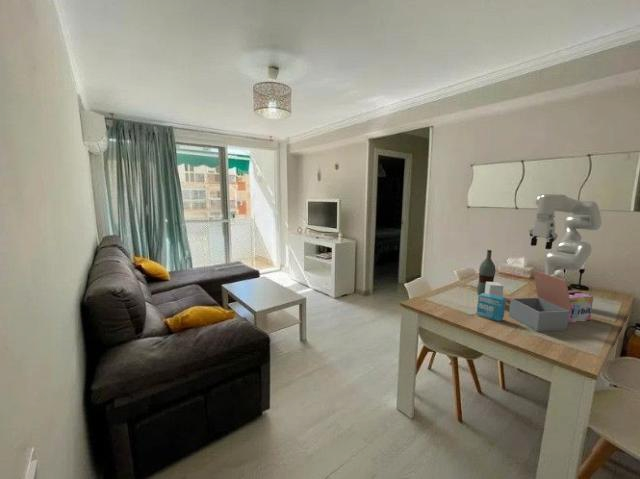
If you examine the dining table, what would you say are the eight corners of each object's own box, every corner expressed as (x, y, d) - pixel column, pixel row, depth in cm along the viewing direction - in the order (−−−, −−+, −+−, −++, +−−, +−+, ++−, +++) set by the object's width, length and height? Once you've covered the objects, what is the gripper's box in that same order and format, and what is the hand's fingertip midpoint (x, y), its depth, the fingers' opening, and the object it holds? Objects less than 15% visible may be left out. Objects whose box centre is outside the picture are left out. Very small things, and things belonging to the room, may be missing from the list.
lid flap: (537, 297, 156) (551, 292, 156) (570, 311, 138) (585, 305, 138) (532, 269, 153) (546, 264, 153) (565, 279, 135) (580, 274, 135)
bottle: (494, 298, 181) (499, 252, 176) (478, 296, 184) (483, 251, 179) (490, 293, 190) (495, 249, 185) (475, 291, 193) (480, 248, 188)
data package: (476, 315, 156) (478, 294, 154) (478, 312, 159) (480, 292, 157) (501, 322, 148) (504, 300, 146) (503, 319, 151) (506, 298, 149)
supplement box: (501, 306, 169) (504, 286, 166) (487, 305, 170) (490, 285, 168) (496, 301, 176) (498, 282, 174) (483, 300, 177) (485, 281, 175)
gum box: (576, 314, 159) (580, 291, 156) (592, 320, 151) (596, 296, 149) (540, 317, 154) (544, 293, 152) (555, 324, 147) (559, 299, 144)
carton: (535, 314, 158) (537, 297, 156) (566, 330, 140) (569, 311, 138) (508, 315, 156) (511, 298, 154) (536, 331, 138) (539, 312, 137)
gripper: (566, 218, 150) (560, 250, 153) (537, 215, 167) (533, 244, 170) (553, 218, 149) (548, 250, 152) (526, 215, 166) (522, 244, 169)
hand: (540, 247), depth 161 cm, fingers open, 9 cm apart
